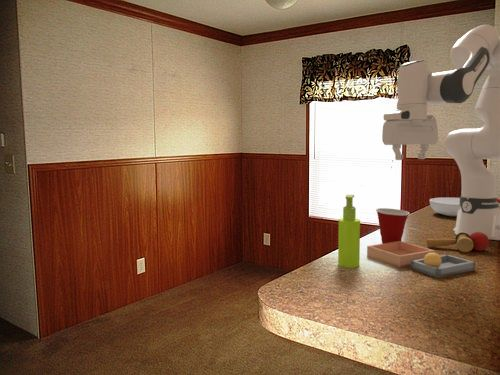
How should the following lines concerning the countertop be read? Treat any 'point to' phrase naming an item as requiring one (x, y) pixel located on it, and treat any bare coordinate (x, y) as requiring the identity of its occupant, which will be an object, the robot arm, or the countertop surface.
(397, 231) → the plastic cup
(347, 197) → the soap dispenser
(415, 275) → the countertop surface
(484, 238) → the kendama
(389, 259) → the dish
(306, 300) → the countertop surface
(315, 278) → the countertop surface
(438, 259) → the ball
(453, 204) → the serving bowl
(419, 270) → the tray
